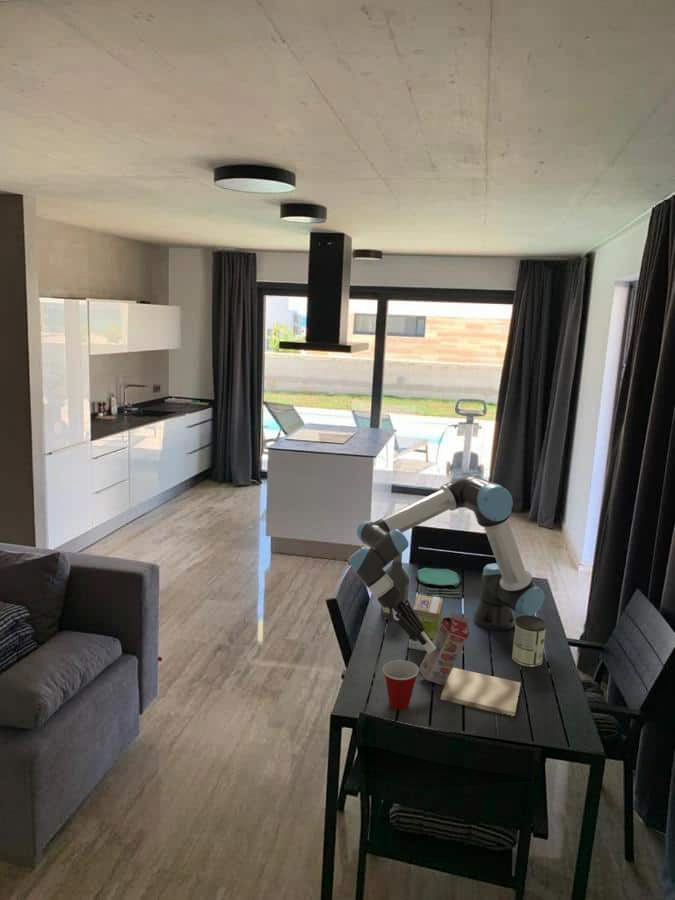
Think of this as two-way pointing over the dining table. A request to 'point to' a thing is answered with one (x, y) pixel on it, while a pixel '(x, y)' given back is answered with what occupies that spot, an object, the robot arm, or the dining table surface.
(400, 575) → the liquor
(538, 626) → the coffee can
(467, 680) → the cutting board
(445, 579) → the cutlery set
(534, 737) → the dining table surface
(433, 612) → the tea box
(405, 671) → the plastic cup
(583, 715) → the dining table surface
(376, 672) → the dining table surface
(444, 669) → the juice carton
